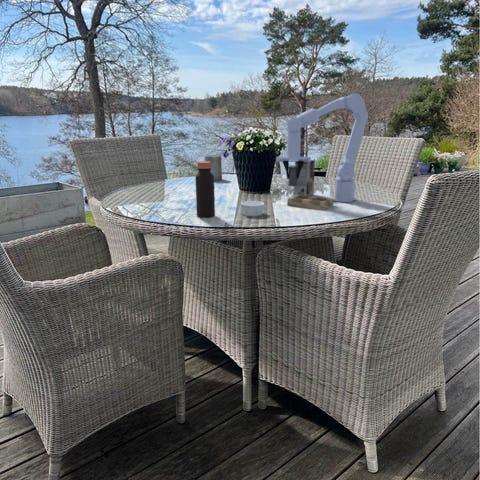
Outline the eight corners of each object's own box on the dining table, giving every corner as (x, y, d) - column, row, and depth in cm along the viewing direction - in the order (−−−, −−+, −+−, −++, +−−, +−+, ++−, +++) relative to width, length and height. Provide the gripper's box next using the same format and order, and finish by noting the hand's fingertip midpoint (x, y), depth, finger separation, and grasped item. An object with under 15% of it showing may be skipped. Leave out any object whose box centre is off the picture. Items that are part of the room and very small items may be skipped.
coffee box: (301, 193, 201) (302, 159, 197) (313, 194, 198) (315, 159, 193) (293, 196, 194) (294, 161, 189) (306, 197, 191) (308, 161, 186)
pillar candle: (215, 177, 251) (214, 152, 247) (225, 179, 244) (224, 153, 240) (202, 179, 246) (200, 153, 241) (211, 181, 238) (210, 154, 234)
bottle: (193, 216, 157) (191, 162, 151) (204, 212, 162) (202, 160, 156) (207, 218, 153) (205, 163, 147) (218, 215, 159) (217, 161, 153)
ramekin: (268, 214, 161) (268, 202, 159) (253, 218, 154) (253, 206, 153) (250, 210, 166) (250, 199, 165) (235, 214, 160) (235, 203, 159)
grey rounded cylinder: (290, 184, 187) (291, 164, 185) (298, 185, 185) (298, 165, 183) (287, 185, 184) (287, 165, 182) (294, 186, 182) (294, 166, 180)
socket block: (298, 201, 183) (298, 193, 182) (332, 205, 174) (333, 197, 173) (287, 205, 175) (287, 197, 174) (323, 209, 166) (323, 201, 165)
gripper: (309, 146, 183) (308, 177, 187) (276, 146, 184) (276, 177, 188) (311, 147, 176) (310, 179, 180) (276, 147, 177) (276, 179, 181)
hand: (292, 178), depth 184 cm, fingers closed on grey rounded cylinder, 4 cm apart
